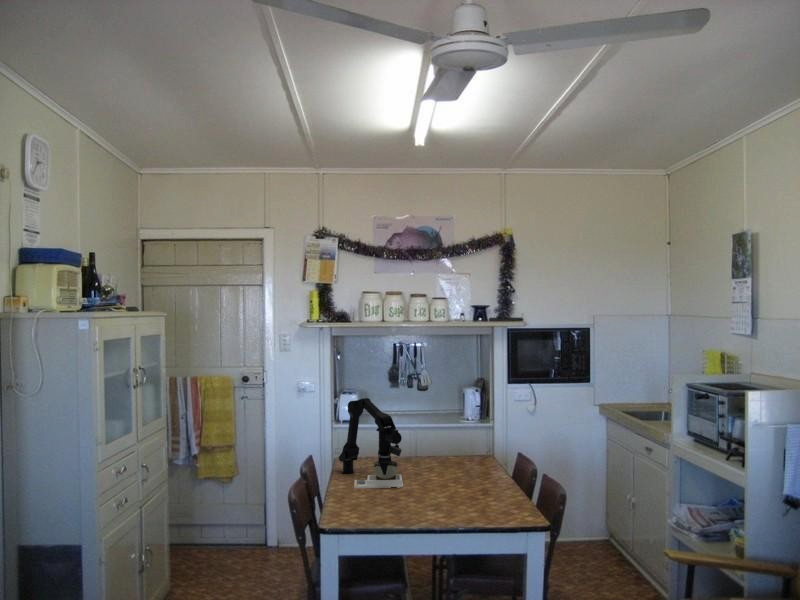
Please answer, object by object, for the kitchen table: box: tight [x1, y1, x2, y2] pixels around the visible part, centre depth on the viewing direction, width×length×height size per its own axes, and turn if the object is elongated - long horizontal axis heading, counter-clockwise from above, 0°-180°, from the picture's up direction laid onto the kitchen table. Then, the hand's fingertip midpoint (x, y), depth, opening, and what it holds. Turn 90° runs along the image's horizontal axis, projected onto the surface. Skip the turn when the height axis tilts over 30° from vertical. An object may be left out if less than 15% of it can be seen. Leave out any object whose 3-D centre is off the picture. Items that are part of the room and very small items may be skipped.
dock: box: [353, 474, 404, 489], centre depth 320 cm, size 12×24×4 cm, turn 93°
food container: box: [373, 460, 399, 480], centre depth 322 cm, size 12×6×10 cm, turn 92°
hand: (384, 472), depth 321 cm, fingers open, 9 cm apart
